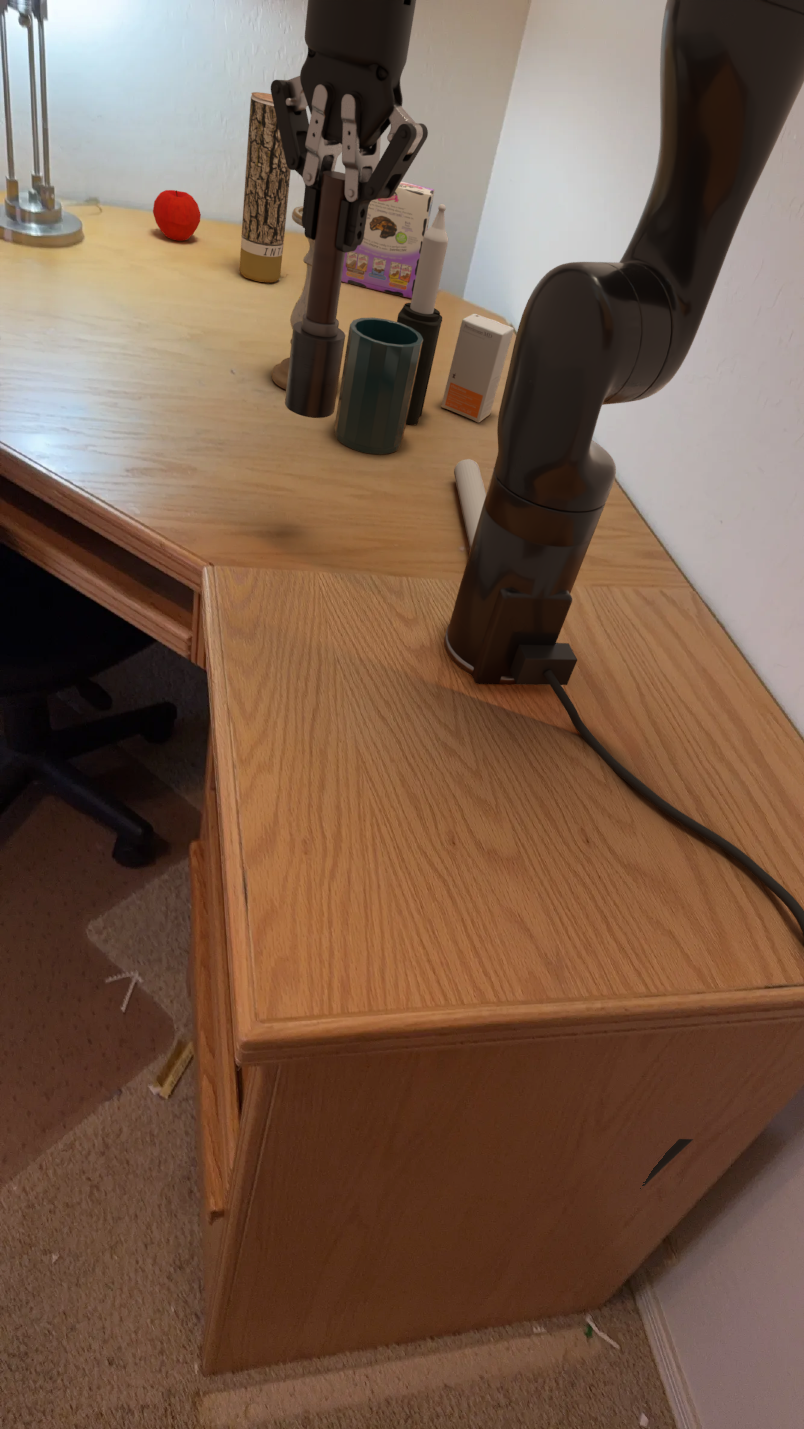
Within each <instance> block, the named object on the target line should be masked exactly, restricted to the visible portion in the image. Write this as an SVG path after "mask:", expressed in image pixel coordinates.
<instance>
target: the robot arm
mask: <svg viewBox="0 0 804 1429" xmlns="http://www.w3.org/2000/svg"><path fill="white" fill-rule="evenodd" d="M416 4H417V0H307V7H306V15H305V16H306V18H305V27H304V28H305V29H304V42H305V44H306V46H307V54H306V58H305V61H304V63H303V64H302V67H301V69H300V72H299V73H300V74H299V75H297V76H295V77H292V78H290V79H274V80H273V81H272V82H271V84H270V94H272V99H273V104H274V108H275V113H276V118H277V122H278V127H279V132H280V137H281V141H282V146H283V151H284V155H285V160H286V164H287V167H288V168H289V169H290V170H291V171H295V172H296V173H297V174H298V175H299V176H300V177H301V178H302V181H303V183H304V193H303V195H304V196H303V203H302V204H303V205H302V206H303V213H302V226H301V227H302V228H303V229H304V236H305V238H306V239H307V238H310V239H312V240H315V234H316V226H317V217H318V209H319V200H320V192H321V183H322V175H323V172H324V171H335V170H336V165H337V161H338V157H339V156H340V155H341V164H342V165H343V166H344V168H345V170H344V171H345V172H344V173H345V197H346V199H345V200H342V201H341V209H340V217H339V224H338V232H337V239H336V249H337V250H339V251H341V252H344V253H346V252H351V251H355V250H356V248H357V246H358V245H361V243H362V241H363V239H364V231H365V225H366V219H367V212H368V206H369V203H370V202H371V201H372V200H376V199H380V198H390V197H392V196H393V194H394V192H395V191H396V189H397V187H398V186H399V184H400V182H401V181H403V179H404V177H405V175H406V174H407V172H408V170H409V169H410V167H411V165H412V164H413V163H414V161H415V159H416V158H417V155H418V154H419V152H420V150H421V149H422V147H423V145H424V144H425V143H426V140H427V139H428V136H429V130H428V126H426V124H424V123H418V122H415V120H414V119H413V118H412V117H411V115H409V113H408V112H407V111H406V110H405V109H404V108H403V103H404V102H403V93H402V86H401V78H402V75H403V74H402V73H403V71H404V69H405V66H406V63H407V62H408V61H407V60H408V55H409V47H410V41H411V35H412V30H413V22H414V16H415V10H416ZM664 7H665V8H664V14H663V19H662V28H661V38H660V58H659V119H660V120H659V121H660V122H659V149H658V154H657V155H658V156H657V161H656V162H657V163H656V167H655V172H654V177H653V180H652V183H651V188H650V189H649V190H650V191H649V194H648V197H647V200H646V202H645V204H644V208H643V210H642V213H641V215H640V218H639V220H638V223H637V225H636V228H635V229H634V232H633V234H632V235H631V236H632V237H631V238H630V241H629V243H628V245H627V247H626V249H625V250H624V253H623V255H622V257H621V258H620V260H619V261H618V262H617V261H616V262H615V261H614V262H613V261H571V262H566V263H562V264H559V265H556V266H555V267H554V268H552V269H550V270H549V271H547V272H546V273H545V275H543V277H542V278H540V280H539V282H538V283H536V286H535V287H534V288H533V290H532V292H531V294H530V295H529V298H528V299H527V301H526V304H525V307H524V310H523V312H522V314H521V317H520V321H519V324H518V328H517V332H516V335H515V340H514V344H513V348H512V353H511V357H510V362H509V367H508V371H507V375H506V380H505V383H504V384H505V385H504V389H503V394H502V398H501V402H500V406H499V411H498V417H497V426H496V427H497V428H496V429H497V430H496V432H497V435H496V436H497V456H496V459H495V464H494V466H493V471H492V473H491V477H490V481H489V483H488V487H487V490H486V497H485V501H484V504H483V507H482V511H481V514H480V518H479V521H478V525H477V528H476V532H475V535H474V539H473V542H472V546H471V549H470V548H469V554H468V556H467V560H466V563H465V567H464V571H463V574H462V578H461V580H460V585H459V588H458V591H457V596H456V599H455V601H454V606H453V610H452V613H451V617H450V621H449V624H448V625H447V628H446V630H445V634H444V637H443V638H444V639H443V646H444V650H445V653H446V654H447V656H448V658H449V659H450V660H451V661H452V662H453V663H454V665H456V667H457V668H459V669H460V670H462V671H463V672H465V673H466V674H468V675H470V676H471V678H472V679H473V681H474V683H475V684H476V685H499V686H500V685H503V686H514V685H515V686H516V685H517V686H525V685H526V686H549V687H550V688H551V689H552V691H553V692H554V694H555V695H556V697H557V698H558V700H559V702H560V703H561V705H562V706H563V708H564V710H565V711H566V713H567V715H568V717H569V719H570V721H571V723H572V725H573V727H574V728H575V730H576V731H577V732H578V733H579V735H580V736H581V737H582V738H583V740H584V741H585V742H586V743H587V744H588V746H590V747H591V748H592V750H594V751H595V752H596V753H597V754H598V756H600V757H601V758H602V760H603V761H604V762H605V763H606V764H607V765H608V766H609V767H610V768H611V769H612V770H613V771H614V773H615V774H616V775H618V776H619V777H620V778H621V779H622V780H624V781H625V782H626V783H627V784H628V785H629V786H631V788H633V789H635V791H637V792H638V793H639V794H640V795H641V796H642V797H644V798H645V799H646V800H648V802H649V803H651V804H652V805H654V806H655V807H656V808H657V809H659V810H660V811H661V812H663V813H664V814H665V815H667V816H669V817H670V818H672V819H673V820H675V821H676V822H678V823H679V824H681V825H682V826H683V827H685V828H687V829H689V830H690V831H692V832H693V833H695V834H697V835H698V836H700V837H702V838H703V839H705V840H706V841H709V842H710V843H712V844H713V845H715V846H716V847H717V848H719V849H721V850H723V851H724V852H725V853H726V854H728V855H729V856H730V857H732V858H733V859H735V860H736V861H737V862H738V863H739V864H741V865H742V866H743V867H744V868H745V869H746V870H747V871H748V872H750V873H751V874H752V875H753V876H754V877H755V878H756V879H758V880H759V882H761V883H762V884H763V885H764V886H765V887H767V889H769V891H770V892H772V893H773V894H774V895H775V896H776V897H777V898H778V899H779V900H780V901H781V902H782V903H783V904H784V905H785V906H786V907H787V909H788V910H789V911H790V913H791V914H792V916H793V917H794V918H795V920H796V922H797V924H798V926H799V928H800V931H801V933H802V936H803V937H804V908H803V907H802V906H801V904H800V903H799V902H798V900H796V898H795V897H794V896H793V895H792V894H791V893H790V892H789V891H788V890H787V889H786V888H785V887H784V886H783V885H782V884H780V882H778V881H777V880H776V879H775V878H773V876H771V875H770V874H769V873H768V872H767V871H766V870H764V869H763V868H762V867H761V866H760V865H759V864H757V862H755V861H754V860H753V859H752V858H751V857H750V856H748V855H747V854H746V853H745V852H743V851H742V850H741V849H740V848H738V847H737V846H736V845H734V844H733V843H731V842H730V841H728V840H727V839H725V838H724V837H723V836H721V835H719V834H717V833H716V832H715V831H712V830H711V829H710V828H708V827H707V826H704V825H703V824H701V823H699V822H698V821H696V820H694V819H693V818H692V817H690V816H688V815H687V814H685V813H683V812H682V811H680V810H679V809H677V808H676V807H675V806H673V805H671V804H670V803H669V802H667V801H666V800H664V799H663V798H662V797H661V796H659V795H658V794H657V793H656V792H655V791H653V790H652V789H651V788H650V787H649V786H647V784H645V783H644V782H642V781H641V780H640V779H639V778H637V777H636V776H635V775H634V774H633V773H631V772H630V771H629V770H628V769H626V767H625V766H623V764H621V763H620V762H619V761H618V760H617V759H616V758H615V757H613V755H611V753H610V752H609V751H608V750H607V749H606V748H605V747H604V746H603V745H602V744H601V742H600V741H599V740H598V739H597V738H596V737H595V735H593V733H592V732H591V730H590V729H589V728H588V727H587V725H586V724H585V722H584V721H583V720H582V719H581V716H580V714H579V712H578V710H577V709H576V707H575V705H574V703H573V702H572V699H571V698H570V697H569V695H568V693H567V692H566V691H565V689H564V687H563V686H568V683H569V681H570V679H571V677H572V674H573V672H574V669H575V668H576V665H577V662H578V658H577V656H576V654H575V653H574V651H573V649H572V647H571V645H570V643H568V642H557V641H558V638H559V637H560V634H561V631H562V629H563V626H564V624H565V620H566V619H567V616H568V613H569V611H570V609H571V605H572V603H573V596H572V595H571V593H572V591H573V588H574V585H575V583H576V580H577V577H578V575H579V573H580V569H581V568H582V564H583V562H584V559H585V557H586V554H587V551H588V549H589V546H590V544H591V541H592V538H593V536H594V535H595V531H596V529H597V526H598V524H599V521H600V518H601V517H602V513H603V511H604V508H605V506H606V503H607V501H608V498H609V496H610V493H611V490H612V488H613V486H614V483H615V479H616V474H617V467H616V462H615V460H614V458H613V457H612V455H611V454H610V452H608V451H607V450H606V449H605V448H604V447H603V446H602V445H600V444H599V443H598V442H596V441H594V440H593V438H594V435H595V434H594V433H595V429H596V426H597V422H598V419H599V416H600V413H601V409H602V407H603V406H605V405H606V406H607V405H616V404H625V403H631V402H632V403H633V402H636V401H641V400H644V399H647V398H649V397H651V396H653V395H655V394H657V393H658V392H660V391H661V390H663V389H664V388H665V387H666V386H667V385H668V384H669V383H670V382H671V381H672V379H674V377H675V375H676V374H677V373H678V372H679V370H680V369H681V367H682V365H683V363H684V362H685V359H686V358H687V356H688V354H689V352H690V350H691V347H692V345H693V343H694V340H695V339H696V336H697V334H698V331H699V329H700V326H701V324H702V321H703V318H704V317H705V316H704V315H705V313H706V310H707V307H708V305H709V302H710V301H711V297H712V295H713V291H714V289H715V286H716V284H717V282H718V278H719V276H720V273H721V271H722V269H723V268H722V267H723V266H724V263H725V260H726V257H727V254H728V253H729V249H730V247H731V244H732V242H733V239H734V236H735V234H736V232H737V229H738V227H739V224H740V222H741V220H742V217H743V214H744V212H745V210H746V207H747V206H748V204H749V201H750V199H751V197H752V195H753V193H754V191H755V188H756V186H757V184H758V182H759V180H760V178H761V176H762V174H763V172H764V170H765V168H766V165H767V163H768V162H769V159H770V157H771V154H772V152H773V150H774V148H775V146H776V143H777V142H778V140H779V138H780V135H781V134H782V130H783V129H784V126H785V124H786V122H787V120H788V117H789V115H790V113H791V112H792V109H793V107H794V105H795V102H796V100H797V98H798V96H799V94H800V92H801V90H802V88H803V85H804V0H666V3H665V6H664ZM307 107H308V111H309V114H310V119H309V116H308V112H307ZM389 127H390V129H389V131H388V134H387V141H388V144H387V147H386V149H385V150H384V152H383V154H382V156H381V139H382V138H381V137H382V136H383V134H384V133H385V132H386V130H387V129H388V128H389ZM360 149H363V151H362V152H361V153H360V152H359V150H360ZM380 157H381V158H380ZM693 1141H694V1139H693V1138H679V1139H678V1140H677V1141H676V1143H675V1142H674V1143H675V1144H674V1143H673V1144H674V1145H673V1144H672V1145H673V1146H672V1145H671V1146H672V1147H671V1146H670V1147H671V1148H670V1147H669V1148H670V1149H669V1148H668V1149H669V1150H668V1149H667V1150H668V1151H667V1150H666V1151H667V1152H666V1151H665V1152H666V1153H665V1152H664V1153H665V1155H664V1156H663V1158H662V1159H661V1160H660V1161H659V1162H658V1164H657V1165H656V1166H655V1167H654V1168H653V1170H652V1171H651V1173H650V1174H649V1176H648V1178H647V1179H646V1181H645V1182H643V1183H645V1184H643V1185H642V1186H644V1187H645V1186H647V1184H648V1183H649V1182H650V1181H651V1180H653V1178H654V1177H655V1176H657V1175H658V1173H660V1171H662V1170H663V1169H664V1168H665V1167H666V1166H667V1165H668V1164H669V1163H670V1162H671V1161H672V1160H673V1159H674V1158H676V1156H678V1155H679V1154H680V1153H681V1152H682V1151H683V1150H684V1149H685V1148H686V1147H688V1145H689V1144H691V1143H692V1142H693ZM640 1189H641V1188H640ZM641 1190H642V1189H641Z"/></svg>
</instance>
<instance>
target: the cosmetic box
mask: <svg viewBox="0 0 804 1429" xmlns="http://www.w3.org/2000/svg"><path fill="white" fill-rule="evenodd" d="M514 331H515V328H514V327H512V326H509V325H507V324H504V323H502V322H499V321H498V320H495V319H492V318H488V317H485V316H483V315H480V314H477V313H475V312H474V313H472V314H470V315H468V316H466V317H464V318H462V320H461V323H460V327H459V332H458V336H457V338H456V339H457V340H456V344H455V348H454V352H453V356H452V361H451V364H450V369H449V373H448V377H447V381H446V384H445V388H444V393H443V398H442V402H441V408H443V409H446V410H449V411H451V412H453V413H456V414H458V415H460V416H463V417H464V418H467V419H470V420H472V421H474V422H476V423H480V422H482V421H483V420H484V419H486V418H487V417H489V416H490V415H491V412H492V409H493V406H494V402H495V400H496V394H497V391H498V388H499V386H500V385H499V384H500V381H501V378H502V373H503V370H504V366H505V362H506V359H507V356H508V352H509V348H510V345H511V342H512V339H513V335H514Z"/></svg>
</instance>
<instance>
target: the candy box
mask: <svg viewBox="0 0 804 1429" xmlns="http://www.w3.org/2000/svg"><path fill="white" fill-rule="evenodd" d="M434 196H435V188H430V187H427V186H423V185H419V184H415V183H410V182H407V181H403V180H402V181H401V182H400V184H399V186H398V187H397V189H396V191H395V192H394V194H393V196H392V197H390V198H380V199H376V200H372V201H371V202H370V203H369V206H368V212H367V219H366V225H365V231H364V239H363V241H362V243H361V245H358V246H357V248H356V250H355V251H351V252H346V253H345V258H344V265H343V272H342V279H341V283H342V282H343V283H346V284H350V285H355V286H357V287H362V288H367V289H371V290H374V291H379V292H382V293H387V294H391V295H395V296H400V297H402V298H408V299H412V295H413V290H414V284H415V279H416V274H417V269H418V264H419V258H420V253H421V248H422V243H423V237H424V234H425V232H426V231H427V230H428V229H429V222H430V218H431V212H432V206H433V202H434Z"/></svg>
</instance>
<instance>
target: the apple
mask: <svg viewBox="0 0 804 1429" xmlns="http://www.w3.org/2000/svg"><path fill="white" fill-rule="evenodd" d="M152 214H153V218H154V220H155V223H156V225H157V227H158V228H159V230H160V232H162V234H163V235H164V236H165V237H166V238H168V239H170V240H172V241H177V242H180V241H181V242H183V241H187V240H189V239H190V237H192V236H193V235H194V234H195V232H196V231H197V229H198V227H199V225H200V223H201V218H202V217H201V215H202V214H201V211H200V208H199V204H198V202H197V201H196V200H195V198H194V196H192V195H191V194H189V193H188V192H186V191H181V190H176V189H166V190H163V191H160V193H159V194H158V195H157V196H156V198H155V199H154V202H153V208H152Z"/></svg>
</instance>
